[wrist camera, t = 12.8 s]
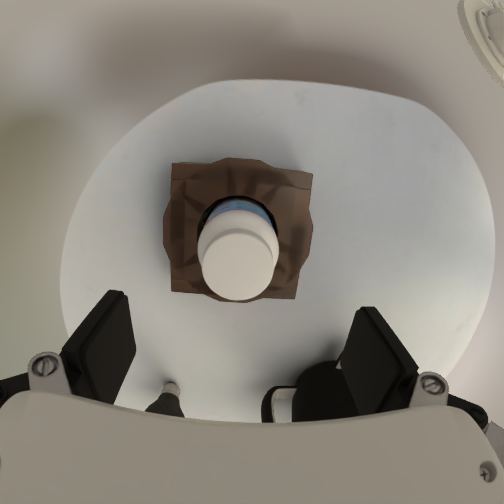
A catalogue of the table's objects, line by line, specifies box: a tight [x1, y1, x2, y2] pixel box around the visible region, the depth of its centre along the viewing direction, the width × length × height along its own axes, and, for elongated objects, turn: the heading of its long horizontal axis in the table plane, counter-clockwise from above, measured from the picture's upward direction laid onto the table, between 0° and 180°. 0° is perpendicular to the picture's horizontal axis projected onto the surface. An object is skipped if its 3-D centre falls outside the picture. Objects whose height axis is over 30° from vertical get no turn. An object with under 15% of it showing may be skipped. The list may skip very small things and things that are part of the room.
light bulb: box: [145, 383, 185, 418], centre depth 30 cm, size 6×6×10 cm
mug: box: [261, 351, 360, 423], centre depth 30 cm, size 16×16×12 cm
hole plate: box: [163, 158, 313, 303], centre depth 26 cm, size 13×13×4 cm
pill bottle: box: [198, 196, 279, 300], centre depth 22 cm, size 6×6×11 cm
